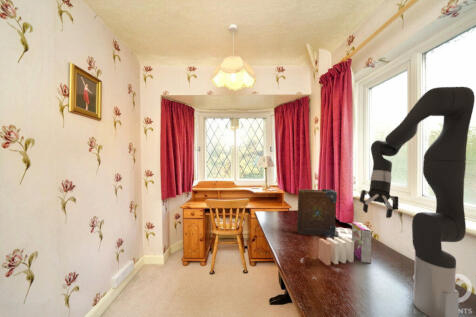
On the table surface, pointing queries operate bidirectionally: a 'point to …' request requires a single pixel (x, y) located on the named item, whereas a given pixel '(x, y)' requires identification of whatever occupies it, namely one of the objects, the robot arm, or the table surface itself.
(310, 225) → the decorative book
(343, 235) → the white brass knuckles
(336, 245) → the domino
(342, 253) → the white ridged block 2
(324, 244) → the domino
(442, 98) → the robot arm
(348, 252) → the domino
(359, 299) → the table surface
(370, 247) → the candy bar box
